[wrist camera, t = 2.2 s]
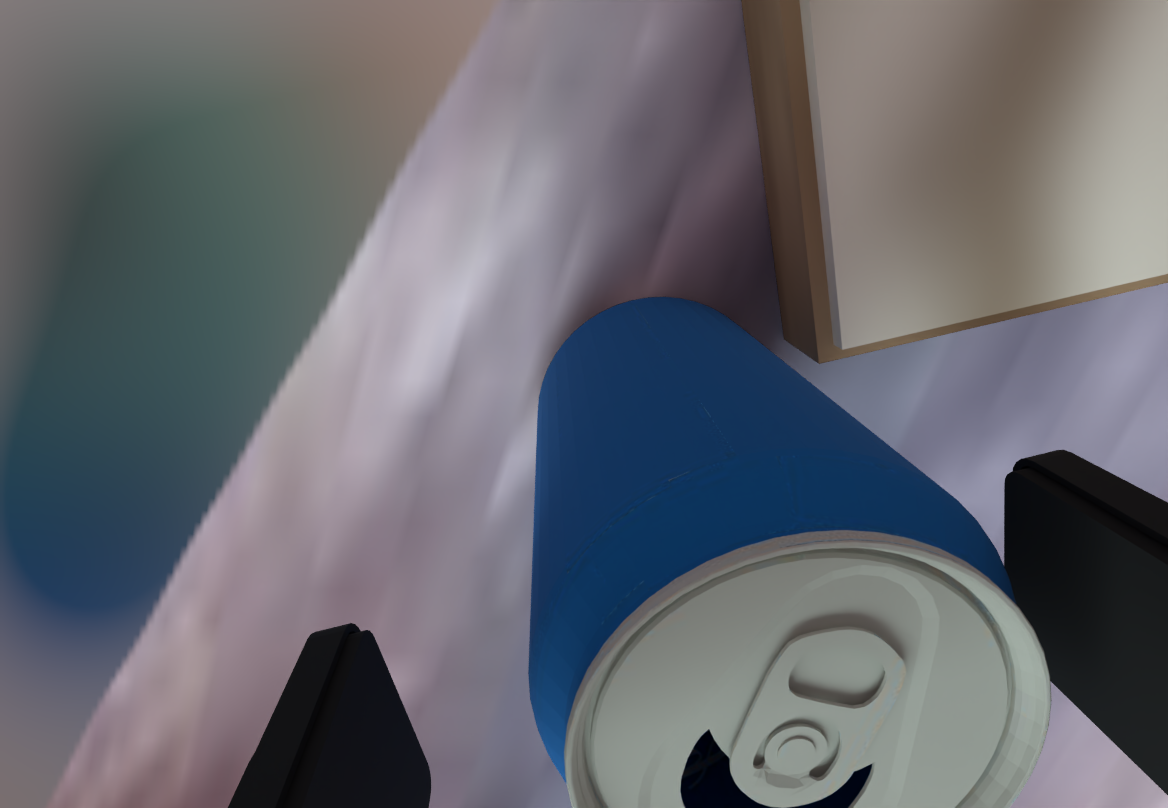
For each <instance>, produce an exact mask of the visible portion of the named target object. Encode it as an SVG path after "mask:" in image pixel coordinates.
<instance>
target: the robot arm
mask: <svg viewBox="0 0 1168 808" xmlns="http://www.w3.org/2000/svg"><path fill="white" fill-rule="evenodd" d="M1004 568H1005V570H1006V572H1007V574H1008V577H1009V580H1010V583H1011V586H1012V590H1013V594H1014V598H1015V602H1016V605H1017V606H1018V607H1019V608H1020V610H1021V611H1022V613H1023V614H1024V616H1025V617H1026V618H1027V620H1028V621H1029V623H1030V624H1031V626H1032V627H1033V629H1034V630H1035V633H1036V635H1037V637H1038V639H1039V642H1040V644H1041V646H1042V648H1043V651H1044V654H1045V658H1046V662H1047V666H1048V670H1049V674H1050V681H1051V682H1052V683H1053V684H1054V685H1055V686H1056V687H1057V688H1058V689H1059V690H1060V691H1061V692H1062V693H1063V694H1064V695H1065V696H1066V697H1067V698H1069V699H1070V700H1071V701H1072V702H1073V703H1074V704H1075V705H1076V706H1077V707H1078V708H1079V709H1080V710H1081V711H1082V712H1083V713H1084V714H1085V715H1086V716H1087V717H1088V718H1089V719H1090V720H1091V721H1092V722H1093V723H1094V724H1095V725H1096V726H1097V727H1098V728H1099V729H1100V730H1101V731H1102V732H1103V733H1104V734H1105V735H1106V736H1108V737H1109V738H1110V739H1111V740H1112V741H1113V742H1114V743H1115V744H1116V745H1117V746H1118V747H1119V748H1120V749H1121V750H1122V751H1123V752H1124V753H1125V754H1126V755H1127V756H1128V757H1129V758H1130V759H1131V760H1132V761H1133V762H1134V763H1135V764H1136V765H1137V766H1138V767H1139V768H1140V769H1141V770H1142V771H1143V772H1144V773H1145V774H1147V775H1148V776H1149V777H1150V778H1151V779H1152V780H1153V781H1154V782H1155V783H1156V784H1157V785H1158V786H1159V787H1160V788H1161V789H1162V790H1163V791H1164V792H1165V793H1166V794H1167V795H1168V503H1167V502H1165V501H1164V500H1162V499H1160V498H1158V497H1156V496H1154V495H1152V494H1150V493H1148V492H1146V491H1144V490H1142V489H1140V488H1138V487H1137V486H1135V485H1133V484H1131V483H1129V482H1127V481H1125V480H1123V479H1121V478H1119V477H1117V476H1115V475H1113V474H1111V473H1110V472H1108V471H1106V470H1104V469H1102V468H1100V467H1098V466H1096V465H1094V464H1092V463H1090V462H1088V461H1086V460H1085V459H1083V458H1081V457H1079V456H1077V455H1075V454H1073V453H1071V452H1068V451H1065V450H1056V451H1052V452H1048V453H1044V454H1040V455H1036V456H1032V457H1028V458H1024V459H1020V460H1019V461H1017V462H1016V464H1015V465H1014V467H1013V472H1010V473H1009V474H1007V476H1006V478H1005V504H1004ZM430 794H431V776H430V770H429V766H428V763H427V760H426V758H425V755H424V753H423V751H422V748H421V746H420V744H419V741H418V739H417V737H416V734H415V732H414V729H413V727H412V725H411V722H410V720H409V718H408V715H407V713H406V711H405V708H404V706H403V704H402V701H401V699H400V696H399V694H398V692H397V689H396V687H395V685H394V682H393V680H392V678H391V675H390V673H389V670H388V668H387V666H386V663H385V661H384V659H383V656H382V654H381V652H380V649H379V647H378V645H377V642H376V640H375V638H374V636H373V634H372V633H371V632H370V631H369V630H365V631H360V629H359V628H358V627H357V626H356V625H355V624H352V623H350V624H346V625H342V626H338V627H334V628H330V629H326V630H321V631H317V632H314V633H312V634H311V635H310V636H309V638H308V639H307V641H306V643H305V646H304V648H303V650H302V652H301V654H300V656H299V659H298V661H297V663H296V665H295V667H294V669H293V671H292V674H291V676H290V678H289V680H288V682H287V684H286V687H285V689H284V691H283V693H282V695H281V697H280V700H279V702H278V704H277V706H276V708H275V710H274V713H273V715H272V717H271V719H270V721H269V723H268V725H267V728H266V730H265V732H264V734H263V736H262V738H261V741H260V743H259V745H258V747H257V749H256V751H255V753H254V755H253V757H252V758H251V760H250V761H249V763H248V766H247V768H246V770H245V772H244V774H243V776H242V778H241V781H240V783H239V785H238V787H237V789H236V791H235V794H234V796H233V798H232V800H231V802H230V804H229V806H228V808H428V807H429V801H430Z"/></svg>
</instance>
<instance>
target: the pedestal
mask: <svg viewBox="0 0 1168 808" xmlns="http://www.w3.org/2000/svg"><path fill="white" fill-rule="evenodd" d="M741 2H742V10H743V18H744V26H745V33H746V41H747V49H748V57H749V65H750V73H751V81H752V89H753V97H754V105H755V113H756V121H757V129H758V137H759V145H760V153H761V160H762V168H763V176H764V184H765V192H766V200H767V208H768V216H769V224H770V232H771V240H772V248H773V256H774V264H775V272H776V280H777V288H778V295H779V303H780V311H781V319H782V327H783V335H784V340H786V341H787V342H789V343H790V344H792V345H793V346H794V347H796V348H797V349H799V350H800V351H802V352H803V353H804V354H806V355H807V356H809V357H810V358H811V359H813V360H814V361H816V362H817V363H819V364H820V363H825V362H829V361H833V360H838V359H842V358H846V357H850V356H855V355H859V354H863V353H868V352H872V351H876V350H880V349H885V348H889V347H893V346H898V345H902V344H906V343H910V342H915V341H919V340H923V339H928V338H932V337H936V336H940V335H945V334H949V333H953V332H958V331H962V330H966V329H970V328H975V327H979V326H983V325H988V324H992V323H996V322H1000V321H1005V320H1009V319H1013V318H1018V317H1022V316H1026V315H1030V314H1035V313H1039V312H1043V311H1048V310H1052V309H1056V308H1060V307H1065V306H1069V305H1073V304H1078V303H1082V302H1086V301H1090V300H1095V299H1099V298H1103V297H1108V296H1112V295H1116V294H1121V293H1125V292H1129V291H1133V290H1138V289H1142V288H1146V287H1151V286H1155V285H1159V284H1163V283H1168V0H741Z"/></svg>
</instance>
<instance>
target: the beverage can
mask: <svg viewBox="0 0 1168 808" xmlns="http://www.w3.org/2000/svg"><path fill="white" fill-rule="evenodd" d="M528 674H529V688H530V700H531V704H532V708H533V712H534V716H535V721H536V724H537V728H538V731H539V733H540V736H541V738H542V740H543V743H544V745H545V747H546V750H547V752H548V754H549V756H550V758H551V760H552V761H553V763H554V765H555V766H556V768H557V769H558V771H559V773H560V774H561V776H562V777H563V779H564V781H565V782H566V783H567V787H568V791H569V796H570V800H571V805H572V808H1009V807H1010V806H1011V805H1012V804H1013V802H1014V801H1015V800H1016V798H1017V797H1018V795H1019V794H1020V792H1021V790H1022V789H1023V787H1024V785H1025V784H1026V782H1027V780H1028V779H1029V777H1030V775H1031V774H1032V772H1033V769H1034V767H1035V765H1036V762H1037V760H1038V758H1039V756H1040V753H1041V751H1042V748H1043V744H1044V741H1045V737H1046V733H1047V730H1048V726H1049V718H1050V709H1051V686H1050V674H1049V670H1048V666H1047V662H1046V658H1045V654H1044V651H1043V648H1042V646H1041V644H1040V642H1039V639H1038V637H1037V635H1036V633H1035V630H1034V629H1033V627H1032V626H1031V624H1030V623H1029V621H1028V620H1027V618H1026V617H1025V616H1024V614H1023V613H1022V611H1021V610H1020V608H1019V607H1018V606H1017V605H1016V602H1015V598H1014V594H1013V590H1012V586H1011V583H1010V580H1009V577H1008V574H1007V572H1006V570H1005V568H1004V565H1003V563H1002V561H1001V559H1000V556H999V554H998V552H997V550H996V548H995V547H994V545H993V543H992V542H991V541H990V539H989V538H988V536H987V535H986V533H985V532H984V530H983V529H982V527H981V526H980V524H979V523H978V521H977V520H976V519H975V518H974V517H973V516H972V515H971V514H970V513H969V512H968V511H967V510H966V509H965V508H964V507H963V506H962V505H961V504H960V502H959V501H958V500H956V499H955V498H954V497H953V496H951V495H950V494H949V493H948V492H946V491H945V490H944V489H943V488H941V487H940V486H939V485H938V484H936V483H935V482H934V481H933V480H931V479H930V478H929V477H928V476H926V475H925V474H924V473H923V472H921V471H920V470H919V469H918V468H916V467H915V466H914V465H913V464H911V463H910V462H909V461H908V460H906V459H905V458H904V457H903V456H901V455H900V454H899V453H898V452H896V451H895V450H894V449H893V448H891V447H890V446H889V445H888V444H886V443H885V442H884V441H883V440H881V439H880V438H879V437H877V436H876V435H875V434H874V433H872V432H871V431H870V430H869V429H867V428H866V427H865V426H864V425H862V424H861V423H860V422H859V421H857V420H856V419H855V418H854V417H852V416H851V415H850V414H849V413H847V412H846V411H845V410H844V409H842V408H841V407H840V406H839V405H837V404H836V403H835V402H834V401H832V400H831V399H830V398H829V397H827V396H826V395H825V394H824V393H822V392H821V391H820V390H819V389H817V388H816V387H815V386H814V385H812V384H811V383H810V382H809V381H807V380H806V379H805V378H804V377H802V376H801V375H800V374H799V373H797V372H796V371H795V370H794V369H792V368H791V367H790V366H789V365H787V364H786V363H785V362H784V361H782V360H781V359H780V358H779V357H777V356H776V355H775V354H773V353H772V352H771V351H770V350H768V349H767V348H766V347H765V346H763V345H762V344H761V343H760V342H758V341H757V340H756V339H755V338H753V337H752V336H751V335H750V334H748V333H747V332H746V331H745V330H743V329H742V328H741V327H740V326H738V325H737V324H736V323H735V322H733V321H732V320H731V319H729V318H728V317H727V316H725V315H724V314H722V313H720V312H718V311H716V310H715V309H713V308H711V307H708V306H706V305H703V304H700V303H698V302H694V301H690V300H686V299H681V298H672V297H648V298H642V299H637V300H631V301H628V302H625V303H622V304H618V305H616V306H613V307H611V308H609V309H607V310H605V311H602V312H601V313H599V314H597V315H596V316H594V317H593V318H591V319H589V320H588V321H586V322H585V323H584V324H583V325H582V326H580V327H579V328H578V329H577V330H575V331H574V333H573V334H572V335H571V336H570V337H569V338H568V339H567V340H566V341H565V342H564V343H563V345H562V346H561V347H560V349H559V350H558V352H557V353H556V354H555V356H554V358H553V360H552V362H551V363H550V365H549V367H548V369H547V372H546V374H545V377H544V380H543V382H542V387H541V391H540V395H539V404H538V420H537V448H536V476H535V504H534V532H533V560H532V588H531V616H530V644H529V673H528Z"/></svg>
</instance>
